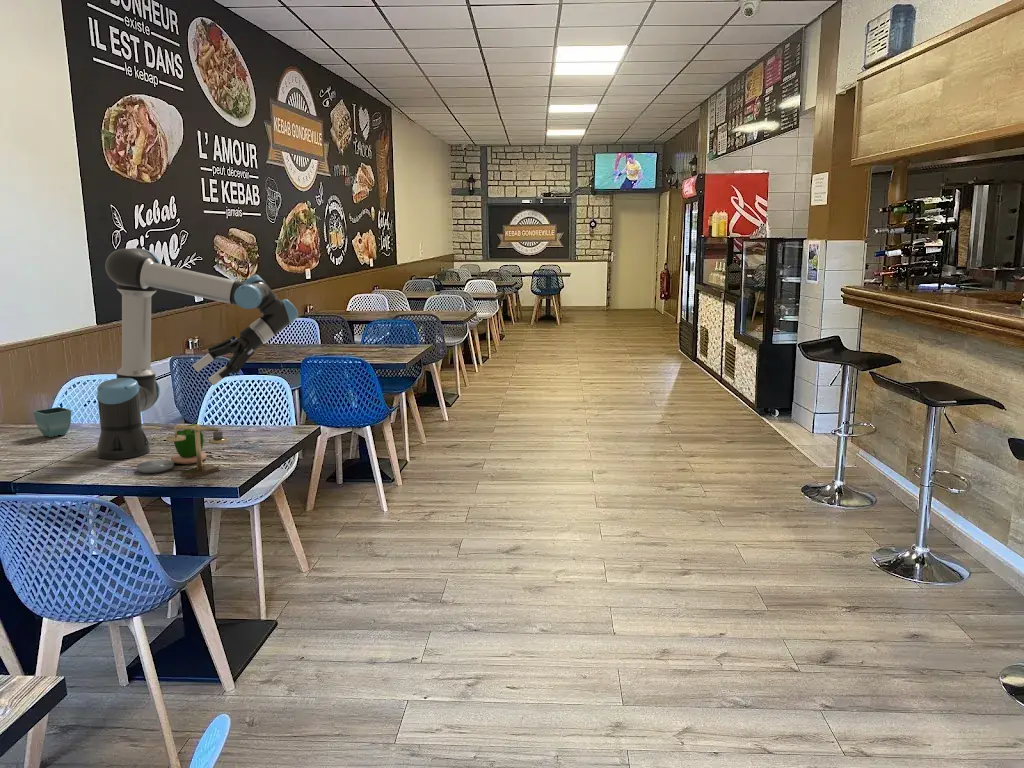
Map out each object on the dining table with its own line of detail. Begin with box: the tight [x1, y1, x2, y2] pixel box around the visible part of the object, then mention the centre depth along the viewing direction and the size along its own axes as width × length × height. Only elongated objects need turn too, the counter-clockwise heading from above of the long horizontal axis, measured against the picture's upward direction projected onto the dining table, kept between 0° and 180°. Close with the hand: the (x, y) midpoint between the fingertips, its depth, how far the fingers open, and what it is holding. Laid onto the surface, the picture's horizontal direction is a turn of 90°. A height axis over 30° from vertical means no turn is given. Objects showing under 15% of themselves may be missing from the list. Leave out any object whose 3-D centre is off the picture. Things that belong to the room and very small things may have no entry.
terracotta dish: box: [170, 451, 207, 465], centre depth 230 cm, size 10×10×2 cm
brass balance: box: [166, 424, 228, 479], centre depth 217 cm, size 5×18×16 cm, turn 148°
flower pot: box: [33, 406, 72, 438], centre depth 259 cm, size 9×9×9 cm
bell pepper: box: [173, 423, 204, 458], centre depth 229 cm, size 8×8×10 cm
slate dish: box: [136, 459, 175, 474], centre depth 221 cm, size 10×10×2 cm
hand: (202, 375), depth 238 cm, fingers open, 13 cm apart
